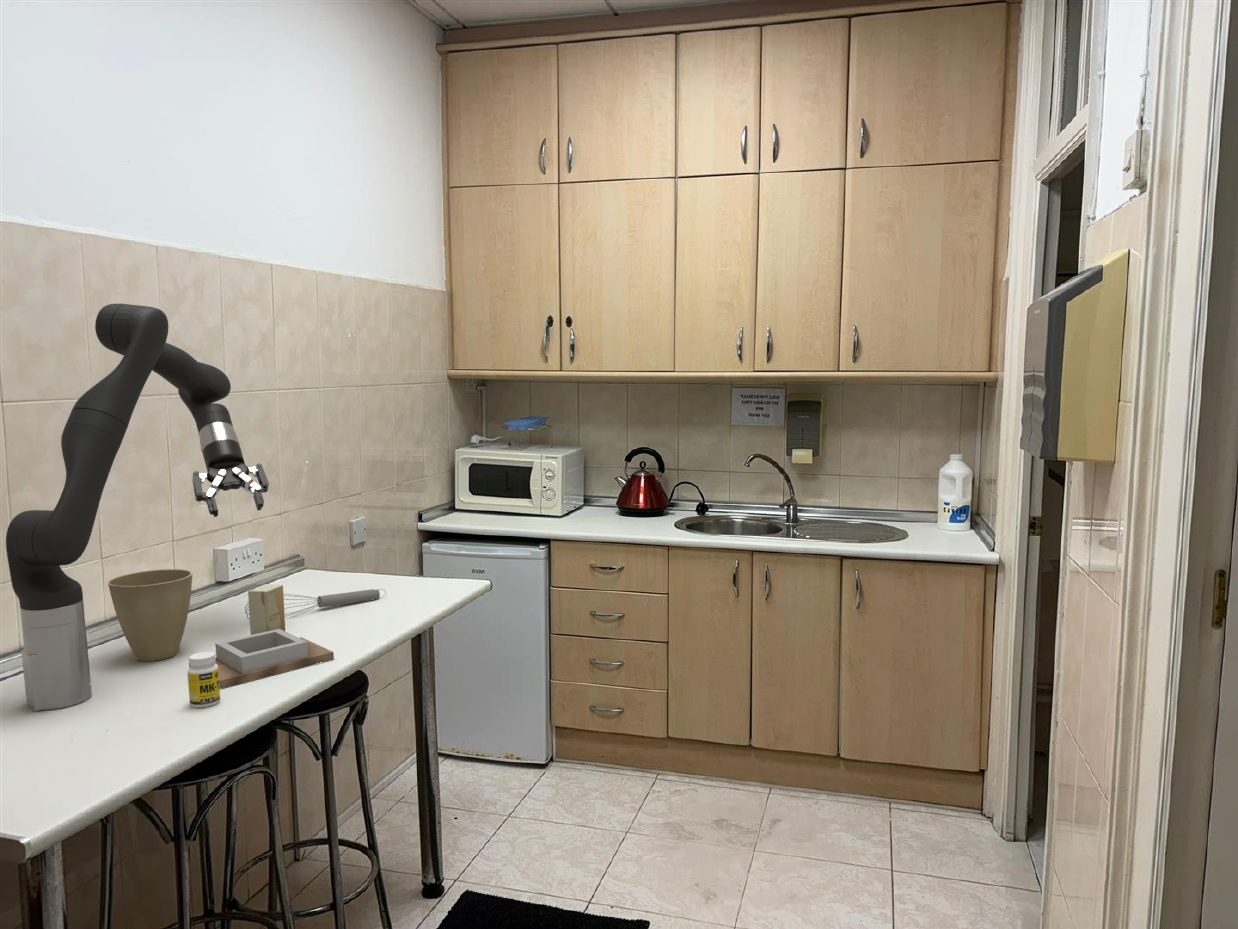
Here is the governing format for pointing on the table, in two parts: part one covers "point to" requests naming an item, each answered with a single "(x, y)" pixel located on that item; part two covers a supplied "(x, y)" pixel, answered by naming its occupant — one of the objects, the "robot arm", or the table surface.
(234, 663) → the collar
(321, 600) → the kitchen whisk
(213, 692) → the supplement bottle
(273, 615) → the skincare box
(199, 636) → the table surface
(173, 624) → the plant pot
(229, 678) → the board
